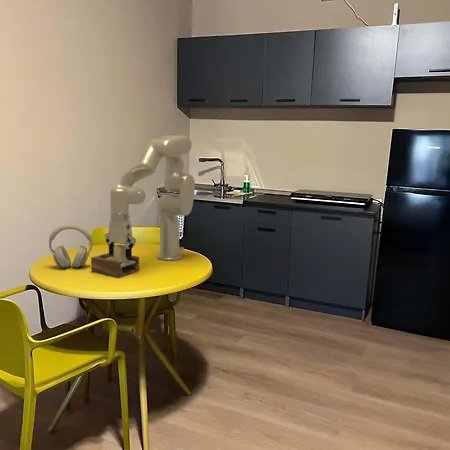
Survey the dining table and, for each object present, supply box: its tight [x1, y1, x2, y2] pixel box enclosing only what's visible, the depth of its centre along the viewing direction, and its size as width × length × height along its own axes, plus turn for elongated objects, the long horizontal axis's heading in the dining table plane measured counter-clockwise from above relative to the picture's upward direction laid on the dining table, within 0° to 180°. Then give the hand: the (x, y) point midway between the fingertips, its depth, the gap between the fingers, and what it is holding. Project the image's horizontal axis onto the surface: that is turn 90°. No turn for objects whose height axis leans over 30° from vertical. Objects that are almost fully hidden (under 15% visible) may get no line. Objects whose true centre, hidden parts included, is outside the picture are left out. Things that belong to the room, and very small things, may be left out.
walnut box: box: [90, 252, 140, 279], centre depth 202 cm, size 13×16×7 cm
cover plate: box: [105, 244, 136, 268], centre depth 201 cm, size 10×14×8 cm
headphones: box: [48, 223, 93, 269], centre depth 206 cm, size 18×10×20 cm, turn 100°
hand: (120, 255), depth 199 cm, fingers open, 9 cm apart
